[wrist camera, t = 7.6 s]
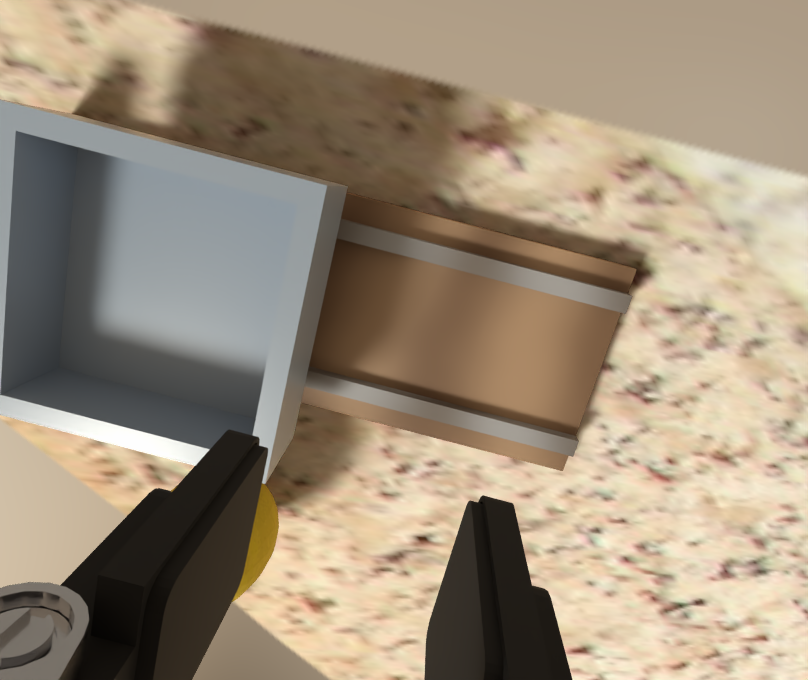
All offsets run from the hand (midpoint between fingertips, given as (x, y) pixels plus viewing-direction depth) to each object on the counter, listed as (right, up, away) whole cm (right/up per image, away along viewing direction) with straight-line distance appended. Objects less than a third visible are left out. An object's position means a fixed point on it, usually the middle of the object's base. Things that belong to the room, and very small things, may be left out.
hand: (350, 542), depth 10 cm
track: (-3, +5, +17) cm, 18 cm away
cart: (-8, +6, +15) cm, 18 cm away
